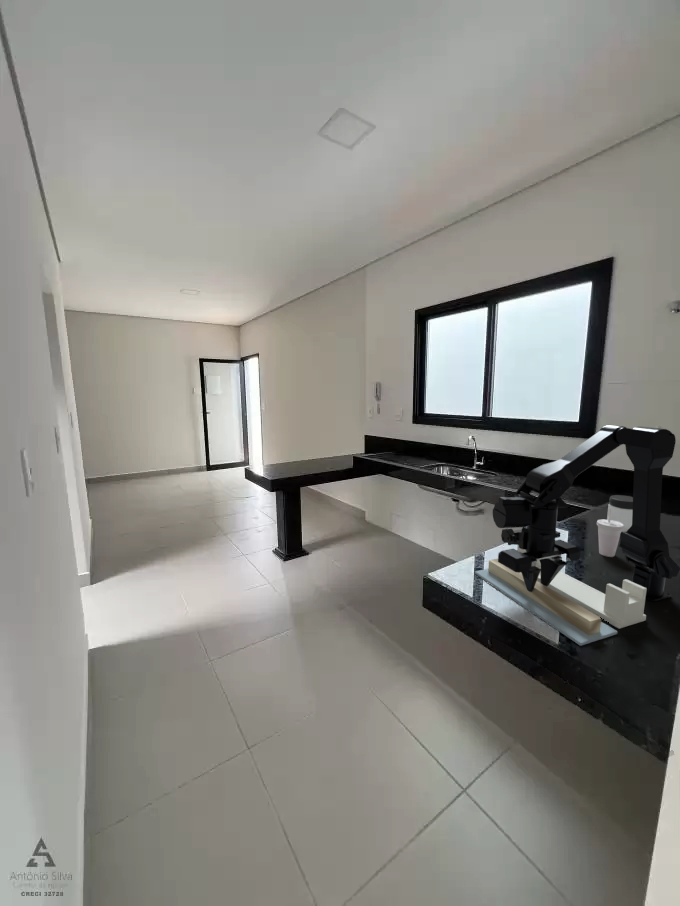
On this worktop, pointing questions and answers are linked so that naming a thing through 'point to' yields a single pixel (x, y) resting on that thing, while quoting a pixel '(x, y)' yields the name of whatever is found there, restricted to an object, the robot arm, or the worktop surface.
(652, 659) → the worktop surface
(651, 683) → the worktop surface
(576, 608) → the rail
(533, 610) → the mat
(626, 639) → the worktop surface
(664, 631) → the worktop surface
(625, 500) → the jar
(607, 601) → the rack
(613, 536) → the smoothie
